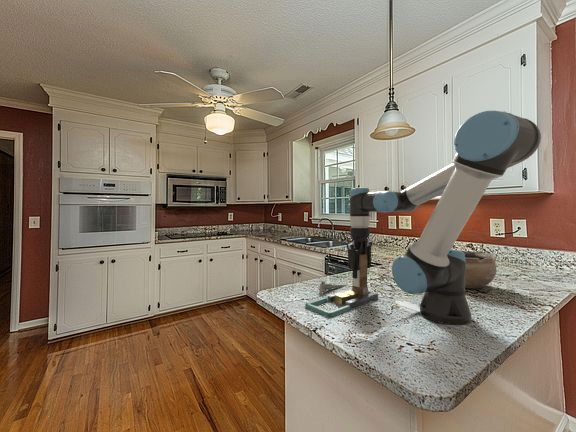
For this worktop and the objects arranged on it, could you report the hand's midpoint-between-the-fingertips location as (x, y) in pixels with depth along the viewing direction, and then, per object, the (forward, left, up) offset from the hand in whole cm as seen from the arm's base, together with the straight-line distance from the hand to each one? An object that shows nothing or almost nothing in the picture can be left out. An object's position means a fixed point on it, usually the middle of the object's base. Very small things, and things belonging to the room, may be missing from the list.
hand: (360, 284), depth 108 cm
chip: (0, +6, -5) cm, 8 cm away
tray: (0, +19, -6) cm, 20 cm away
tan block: (0, +10, -5) cm, 12 cm away
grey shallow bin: (0, +4, -6) cm, 8 cm away
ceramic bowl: (-20, -53, -6) cm, 57 cm away
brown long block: (0, 0, -5) cm, 5 cm away
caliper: (+14, -1, -7) cm, 16 cm away
